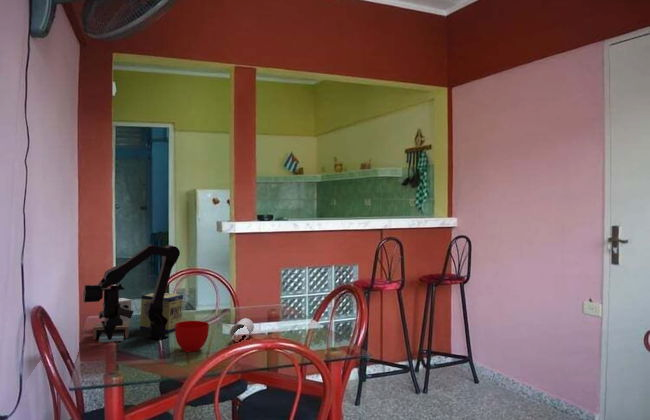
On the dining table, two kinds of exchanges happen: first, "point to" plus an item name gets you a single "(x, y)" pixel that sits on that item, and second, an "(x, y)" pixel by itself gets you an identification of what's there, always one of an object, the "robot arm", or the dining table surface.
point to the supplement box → (128, 302)
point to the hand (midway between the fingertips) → (109, 339)
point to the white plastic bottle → (241, 324)
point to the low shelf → (99, 329)
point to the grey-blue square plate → (116, 337)
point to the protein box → (164, 311)
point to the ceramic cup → (191, 335)
